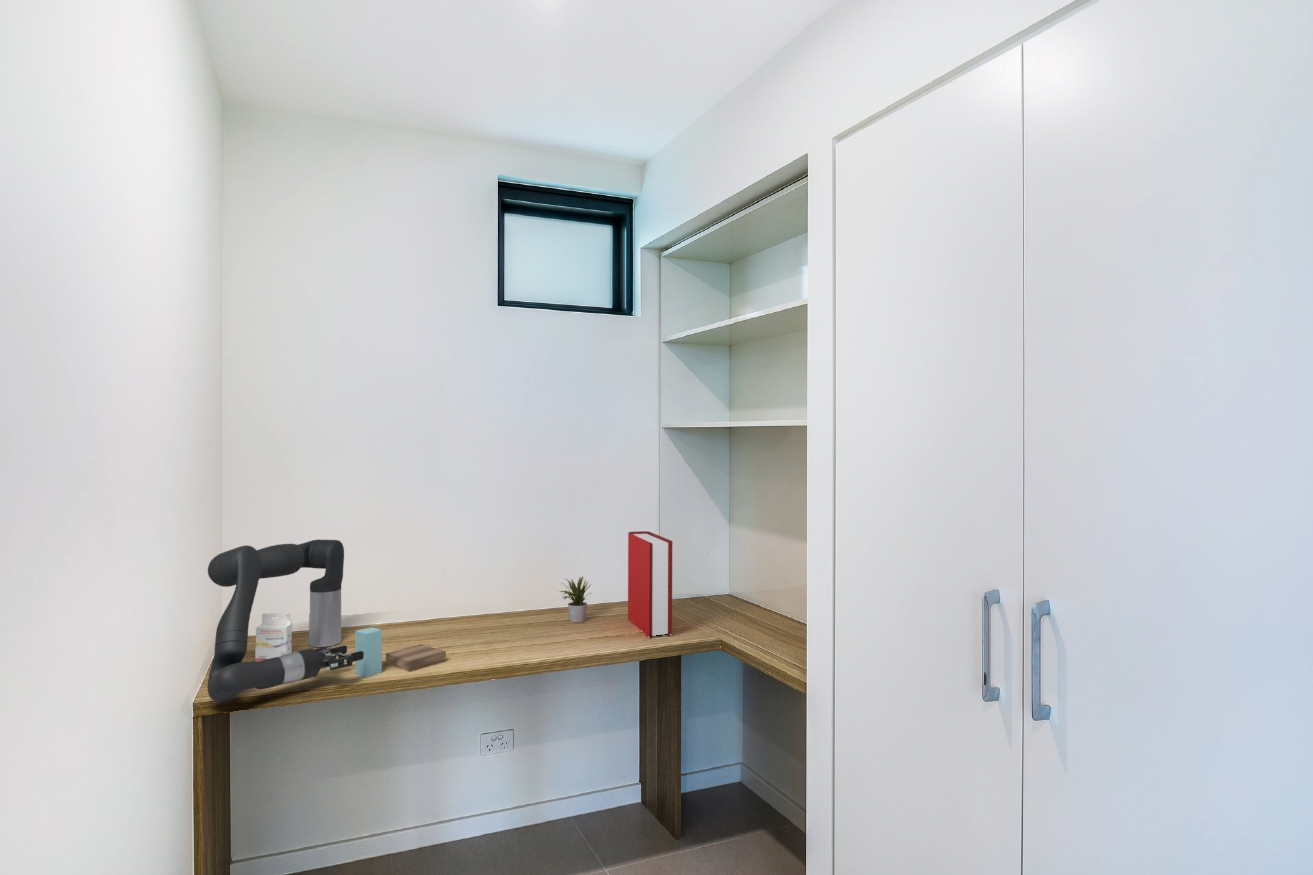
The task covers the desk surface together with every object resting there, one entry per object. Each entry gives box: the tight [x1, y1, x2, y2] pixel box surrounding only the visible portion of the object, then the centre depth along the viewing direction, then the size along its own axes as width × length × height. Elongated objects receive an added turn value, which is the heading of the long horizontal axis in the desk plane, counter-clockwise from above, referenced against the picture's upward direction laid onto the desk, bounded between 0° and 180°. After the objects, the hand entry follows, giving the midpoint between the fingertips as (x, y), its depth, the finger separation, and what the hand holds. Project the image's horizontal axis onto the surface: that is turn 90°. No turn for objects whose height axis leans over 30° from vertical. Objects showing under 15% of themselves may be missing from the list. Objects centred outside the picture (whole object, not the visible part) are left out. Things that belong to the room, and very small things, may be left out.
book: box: [627, 530, 673, 638], centre depth 258 cm, size 27×8×32 cm, turn 18°
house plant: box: [559, 576, 591, 623], centre depth 268 cm, size 14×14×16 cm
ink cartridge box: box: [254, 612, 293, 662], centre depth 214 cm, size 9×5×15 cm, turn 99°
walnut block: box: [385, 643, 447, 672], centre depth 217 cm, size 12×12×3 cm
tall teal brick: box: [354, 626, 383, 678], centre depth 207 cm, size 5×5×12 cm
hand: (354, 651), depth 204 cm, fingers open, 8 cm apart
